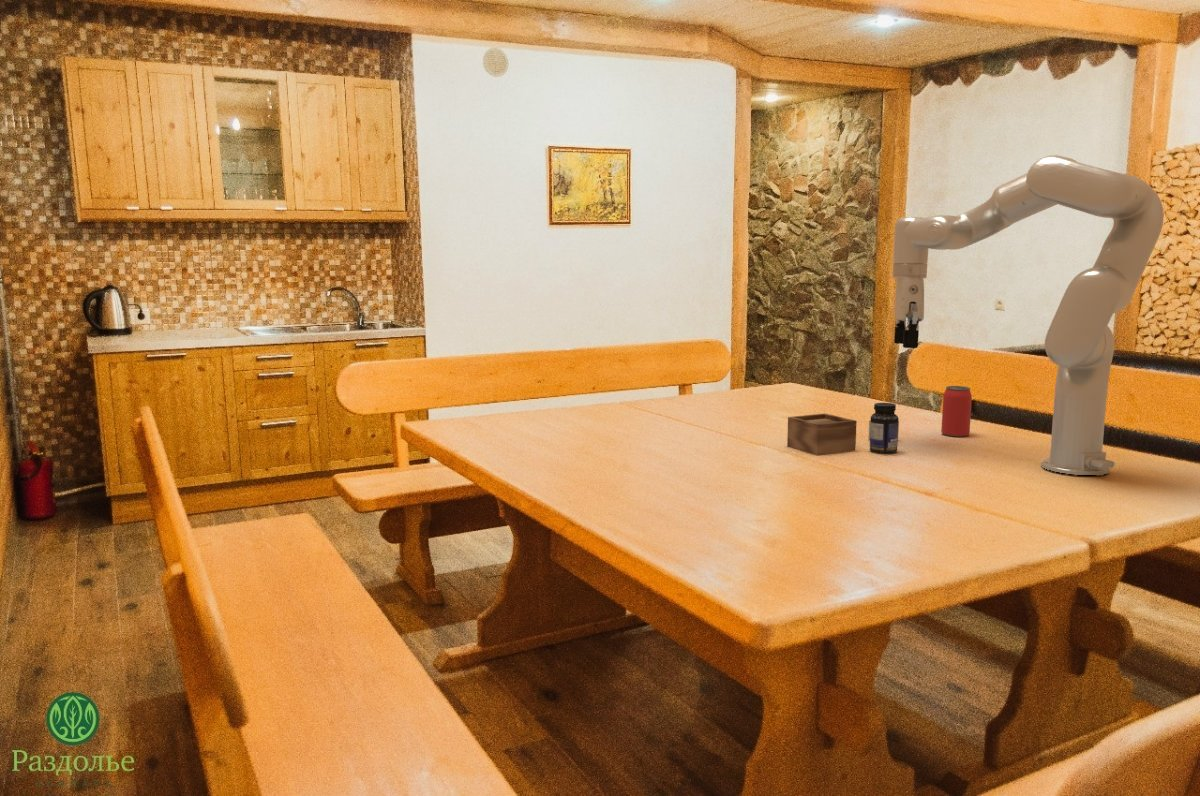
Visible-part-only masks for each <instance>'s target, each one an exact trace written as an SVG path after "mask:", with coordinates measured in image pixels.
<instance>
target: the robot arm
mask: <svg viewBox="0 0 1200 796" xmlns="http://www.w3.org/2000/svg"><path fill="white" fill-rule="evenodd" d="M1057 205H1059V206H1062V207H1066V208H1069V209H1072V210H1075V211H1080V212H1082V213H1085V214H1089V215H1091V216H1095V217H1099V218H1109V219H1112V220H1113V224H1112V228H1111V230H1110V232H1109V234H1108V235H1107V237H1106V238H1105V240H1104V242H1103V244H1102V246H1101V249H1100V251H1099V254H1098V256H1097V258H1096V260H1095V262H1094V264H1093V267H1091V268H1088V269H1085V270H1083V271H1081V272H1080V273H1078V274H1076V276H1075V277H1074V278H1073V279H1072V280H1071V281H1070V282H1069V284H1068V285H1067V288H1066V290H1065V292H1064V293H1063V296H1062V298H1061V299H1060V300H1061V301H1060V302H1059V305H1058V306H1057V309H1056V311H1055V314H1054V316H1053V318H1052V320H1051V322H1050V326H1049V327H1048V330H1047V332H1046V334H1045V338H1044V351H1045V352H1046V353H1045V354H1046V355H1047V357H1048V358H1049V360H1050V361H1051V363H1053V364H1054V365H1056V366H1058V367H1057V372H1056V378H1055V380H1056V381H1055V388H1054V396H1053V397H1054V399H1053V410H1052V411H1053V412H1052V422H1051V423H1052V426H1051V427H1052V428H1051V439H1050V450H1049V451H1050V452H1049V457H1048V458H1044V459H1042V460H1041V462H1040V463H1041V464H1040V466H1042V467H1041V468H1042V469H1044V468H1045V469H1044V470H1046V469H1047V470H1046V471H1049V470H1051V471H1050V472H1052V471H1055V472H1054V473H1056V472H1060V473H1059V474H1061V473H1067V474H1066V475H1068V474H1077V475H1101V476H1104V475H1103V474H1106V475H1108V474H1109V473H1110V469H1112V468H1114V467H1115V461H1114V460H1109V459H1106V458H1107V452H1106V451H1103V446H1104V437H1105V436H1104V435H1105V433H1104V432H1105V423H1106V408H1107V398H1108V389H1109V382H1110V381H1109V379H1110V372H1111V366H1112V362H1113V357H1114V351H1115V338H1114V334H1113V331H1112V330H1111V327H1109V326H1108V325H1109V323H1110V321H1111V320H1112V317H1113V315H1114V314H1117V313H1120V312H1121V311H1123V310H1124V309H1125V308H1127V307H1128V306H1129V305H1130V302H1131V300H1132V298H1133V296H1134V294H1135V291H1136V289H1137V287H1138V284H1139V282H1140V279H1142V275H1143V274H1144V271H1145V269H1146V267H1147V264H1148V262H1149V261H1150V257H1151V255H1152V253H1153V251H1154V248H1155V246H1156V244H1157V242H1158V240H1159V237H1160V235H1161V233H1162V229H1163V226H1164V218H1165V217H1164V213H1165V212H1164V207H1163V204H1162V200H1161V198H1160V197H1159V195H1158V194H1157V192H1156V191H1155V190H1154V189H1153V187H1151V185H1149V184H1148V183H1147V182H1145V180H1143V179H1141V178H1140V177H1137V176H1136V175H1131V174H1127V173H1122V172H1117V171H1112V170H1108V169H1104V168H1101V167H1097V166H1093V165H1090V164H1086V163H1082V162H1079V161H1077V160H1075V159H1073V158H1070V157H1066V156H1061V155H1057V154H1056V155H1055V154H1054V155H1047V156H1044V157H1042V158H1040V159H1038V160H1037V161H1035V162H1033V164H1032V165H1031V166H1030V167H1029V169H1028V171H1027V173H1024V174H1023V175H1020V176H1018V177H1016V178H1014V179H1011V180H1009V181H1007V182H1005V183H1002V184H1001V185H999V186H997V187H996V188H995V189H994V190H993V193H992V195H991V196H990V197H989V198H988V199H987V200H986V201H985V202H983V203H981V204H980V205H977V206H976V207H973V208H972V209H970V210H967V211H966V212H963V213H960V214H958V215H947V214H946V215H942V214H941V215H940V214H939V215H933V216H931V215H930V216H928V217H927V216H926V217H920V216H918V217H917V216H912V217H907V216H906V217H901V218H898V219H897V220H895V225H894V239H893V256H892V257H893V258H892V259H893V260H892V261H893V262H892V276H891V277H892V279H896V284H895V292H894V293H895V294H894V311H893V312H894V318H895V322H894V323H895V325H894V337H893V338H894V339H893V343H894V344H896V345H897V344H899V345H900V344H902V347H903V348H905V349H917V348H919V332H920V331H919V330H920V326H919V323H920V322H923V321H924V319H925V282H924V281H925V280H924V279H927V277H928V261H929V260H928V259H929V258H928V257H929V249H931V250H944V251H945V250H950V251H951V250H955V251H956V250H960V249H963V248H967V247H968V246H971V245H974V244H976V243H978V242H981V241H984V240H986V239H989V238H990V237H993V236H994V235H997V234H998V233H999V232H1001V231H1003V230H1006V229H1007V228H1009V227H1010V226H1012V225H1014V224H1015V223H1018V222H1019V221H1023V220H1025V219H1027V218H1029V217H1031V216H1034V215H1036V214H1038V213H1040V212H1043V211H1045V210H1047V209H1050V208H1052V207H1054V206H1057ZM1107 473H1108V474H1107ZM1077 475H1076V476H1077Z"/></svg>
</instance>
